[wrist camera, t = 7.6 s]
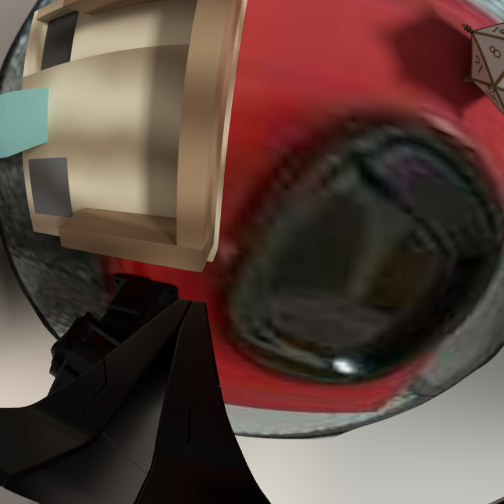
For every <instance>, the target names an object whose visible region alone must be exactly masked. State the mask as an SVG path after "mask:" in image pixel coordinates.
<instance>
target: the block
mask: <svg viewBox="0 0 504 504" xmlns="http://www.w3.org/2000/svg"><path fill="white" fill-rule="evenodd" d="M48 95H49V87H45V88H35V89H27V90H20V91H14V92H8V93H5V94H2V95H0V158H3V157H9V156H11V155H14V154H16V153H19V152H21V151H24V150H26V149H29V148H32V147H35V146H37V145H40V144H43V143H46V142H48Z"/></svg>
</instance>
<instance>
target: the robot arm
mask: <svg viewBox="0 0 504 504" xmlns="http://www.w3.org/2000/svg"><path fill="white" fill-rule="evenodd" d="M113 283H114V288H115V292H116V296H115V297H114V299H113V300H112V302H111V303H110V305H109V308H108V310H107V311H106V313H105V314H104V316H103V318H102V319H101V321H99V320H97V319H96V318H95V317H93V315H92V314H91V313H90V312H87V313H86V315H85V316H84V317H81V318H77V319H76V320H75V321H74V323H73V324H72V326H71V327H70V328H69V330H68V331H67V332H66V333H65V334H64V335H63V336H62V337H61V338H60V339H59V340H58V341H57V342H56V343H55V344H54V345H53V346H52V348H51V353H52V357H53V359H52V362H51V364H52V365H51V368H50V372H49V373H50V374H51V375H53V376H54V377H55V380H54V382H53V384H52V386H51V389H50V391H49V393H48V395H47V397H45V398H43V399H42V400H40V401H38V402H36V403H34V404H32V405H29V406H26V407H20V408H0V504H271V503H270V502H269V500H268V499H267V497H266V496H265V495H264V493H263V492H262V490H261V489H260V487H259V486H258V484H257V483H256V481H255V479H254V477H253V475H252V473H251V471H250V469H249V467H248V465H247V463H246V461H245V458H244V456H243V454H242V451H241V449H240V447H239V445H238V442H237V440H236V437H235V435H234V432H233V430H232V427H231V424H230V422H229V419H228V416H227V413H226V409H225V405H224V401H223V397H222V392H221V388H220V382H219V377H218V372H217V367H216V361H215V356H214V350H213V344H212V338H211V332H210V326H209V320H208V314H207V307H206V303H205V302H201V301H193V302H192V301H191V300H188V299H182V298H180V299H179V294H178V288H177V287H176V286H174V285H169V284H164V283H159V282H153V281H148V280H143V279H138V278H133V277H128V276H124V275H119V274H117V275H115V276H114V278H113ZM171 290H173V291H174V292H172V291H171ZM151 461H152V462H151ZM150 464H151V465H150ZM149 467H150V469H149ZM146 474H147V475H146ZM490 504H504V497H502V498H500V499H498V500H496V501H494V502H492V503H490Z"/></svg>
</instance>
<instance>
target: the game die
mask: <svg viewBox="0 0 504 504" xmlns="http://www.w3.org/2000/svg"><path fill="white" fill-rule="evenodd" d="M462 26H463V27H464V30H466V31H467V32H469V33H471V77H468V76H467V77H465V76H464V79H463V80H462V81H464V82H466V83H468V82H471V81H473V82H474V83H475V84H476V85H477V86H478V87H479V88H480V89H481V90H482V91H483V92H484V93H485V94H486V95H487V97H488V98H489V99H490V100H491V101H492V102H493V103H494V104H495V106H496V107H497V108H498V109H499V110H500V111H501V113H502V114H503V115H504V23H500V24H496V25H492V26H488V27H484V28H481V29H477V30H474V31H473V30H472V29H471V27H469V26H468V25H465V24H462Z"/></svg>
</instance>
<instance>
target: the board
mask: <svg viewBox="0 0 504 504" xmlns="http://www.w3.org/2000/svg"><path fill="white" fill-rule="evenodd" d="M63 3H64V0H58V1H56V2H53V3H51V4H49V5H47V6H45V7H43V8H41V9H39V10H37V11H36V12H35V13H34V17H33V21H32V25H31V30H30V35H29V40H28V45H27V51H26V57H25V65H24V73H23V84H22V90H27V89H35V88H45V87H49V95H48V142H46V143H43V144H40V145H37V146H35V147H32V148H29V149H26V150H24V151H22V158H23V169H24V178H25V186H26V193H27V199H28V205H29V210H30V216H31V221H32V225H33V230H34V231H35V232H40V233H45V234H51V235H56V236H59V231H58V227H59V226H60V225H62V224H63V223H64V222H66V221H67V220H68V219H70V218H71V217H72V216H74V215H75V214H77V213H78V212H79V211H81V210H82V209H84V208H94V209H103V210H112V211H121V212H130V213H138V214H146V215H154V216H162V217H170V218H177V177H178V155H179V138H180V125H181V113H182V102H183V92H184V83H185V75H186V67H187V59H188V52H189V45H190V39H191V33H192V27H193V21H194V16H195V11H196V5H197V0H163V1H156V2H149V3H143V4H138V5H133V6H128V7H123V8H119V9H115V10H111V11H107V12H103V13H99V14H96V15H89V14H86V13H83V12H79V11H76V10H72V9H68V8H64V7H62V6H63ZM246 5H247V0H242V3H241V9H240V15H239V21H238V27H237V33H236V40H235V46H234V53H233V60H232V67H231V74H230V81H229V89H228V97H227V105H226V114H225V122H224V131H223V141H222V150H221V160H220V171H219V182H218V194H217V206H216V219H215V233H214V244H213V247H212V249H211V251H210V254H209V256H208V259H207V261H210V262H213V260H214V257H215V254H216V252H217V249H218V239H219V226H220V214H221V202H222V191H223V181H224V170H225V160H226V151H227V142H228V133H229V124H230V115H231V107H232V99H233V91H234V84H235V76H236V69H237V62H238V55H239V48H240V42H241V35H242V29H243V23H244V16H245V10H246Z"/></svg>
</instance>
